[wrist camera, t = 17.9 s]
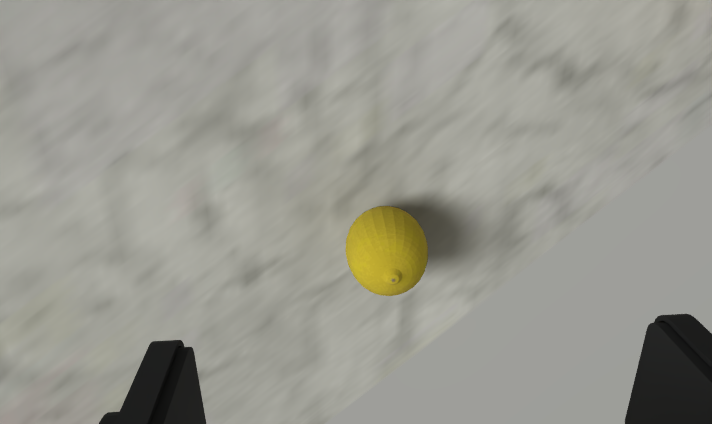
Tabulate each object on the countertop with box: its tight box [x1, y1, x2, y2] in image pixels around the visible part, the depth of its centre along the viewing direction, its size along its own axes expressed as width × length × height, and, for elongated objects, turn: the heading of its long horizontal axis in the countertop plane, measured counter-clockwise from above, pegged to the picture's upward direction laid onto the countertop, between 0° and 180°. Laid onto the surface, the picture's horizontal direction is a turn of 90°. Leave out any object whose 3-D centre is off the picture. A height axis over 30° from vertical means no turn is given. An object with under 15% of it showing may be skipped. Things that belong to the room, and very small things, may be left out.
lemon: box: [346, 206, 428, 296], centre depth 38 cm, size 6×6×8 cm
